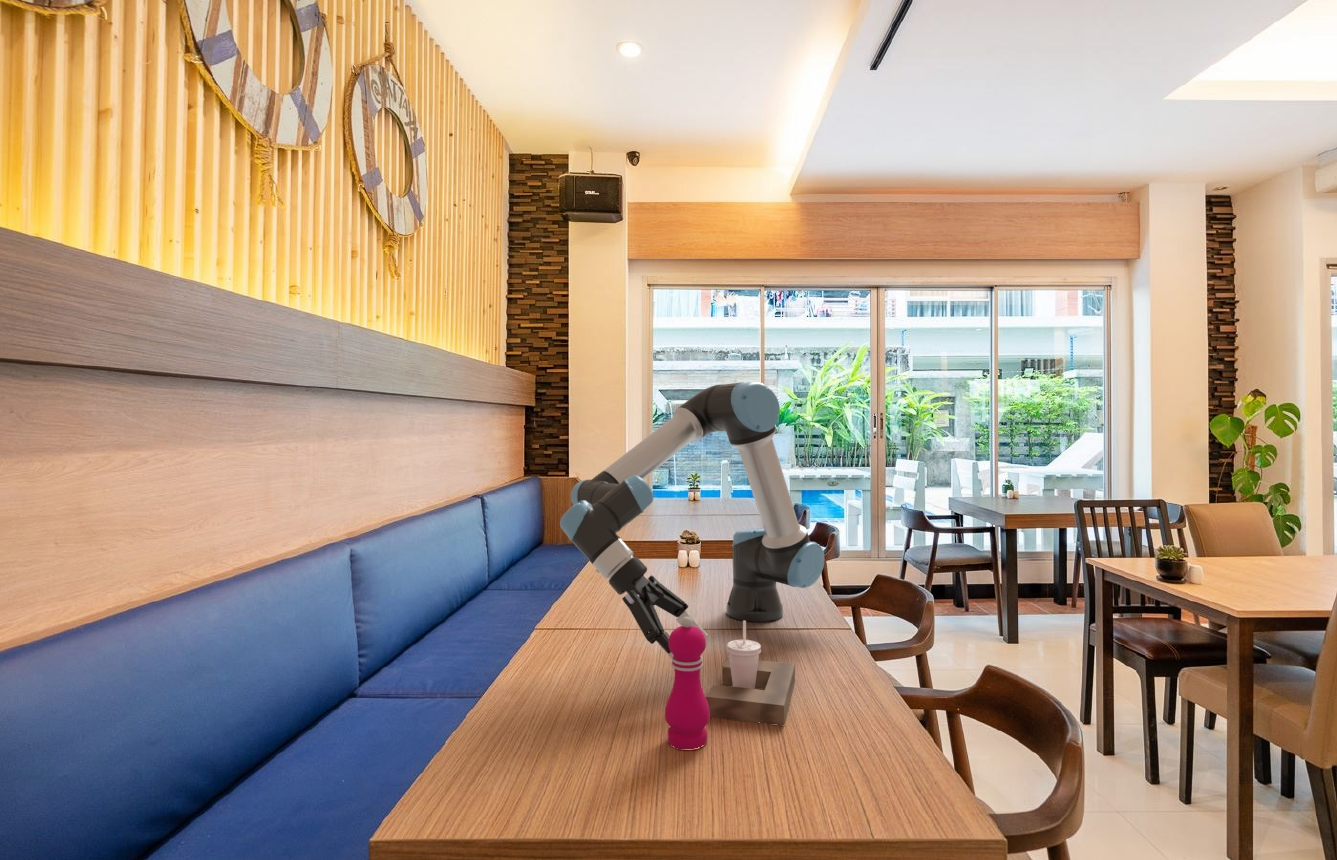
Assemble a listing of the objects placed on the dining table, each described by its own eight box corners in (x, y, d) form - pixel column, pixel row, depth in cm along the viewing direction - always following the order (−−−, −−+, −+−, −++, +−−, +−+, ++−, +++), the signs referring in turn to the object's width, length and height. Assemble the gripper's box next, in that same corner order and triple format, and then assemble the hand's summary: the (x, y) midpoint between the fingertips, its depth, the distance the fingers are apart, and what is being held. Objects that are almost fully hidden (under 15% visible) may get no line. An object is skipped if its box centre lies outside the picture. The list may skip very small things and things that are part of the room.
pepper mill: (695, 757, 97) (695, 626, 97) (656, 745, 101) (655, 619, 101) (717, 738, 104) (717, 614, 104) (679, 727, 107) (679, 608, 107)
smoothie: (764, 692, 122) (763, 618, 122) (757, 705, 116) (757, 628, 116) (731, 687, 124) (731, 615, 124) (723, 701, 118) (722, 625, 118)
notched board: (706, 716, 111) (705, 696, 111) (727, 674, 130) (727, 657, 131) (784, 726, 108) (784, 705, 108) (794, 681, 127) (794, 663, 127)
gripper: (629, 567, 139) (696, 642, 135) (583, 596, 115) (663, 688, 111) (652, 544, 138) (721, 619, 133) (610, 568, 114) (692, 661, 109)
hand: (695, 651), depth 122 cm, fingers open, 13 cm apart
